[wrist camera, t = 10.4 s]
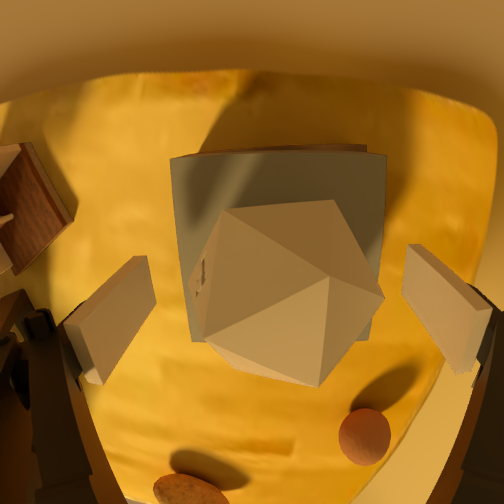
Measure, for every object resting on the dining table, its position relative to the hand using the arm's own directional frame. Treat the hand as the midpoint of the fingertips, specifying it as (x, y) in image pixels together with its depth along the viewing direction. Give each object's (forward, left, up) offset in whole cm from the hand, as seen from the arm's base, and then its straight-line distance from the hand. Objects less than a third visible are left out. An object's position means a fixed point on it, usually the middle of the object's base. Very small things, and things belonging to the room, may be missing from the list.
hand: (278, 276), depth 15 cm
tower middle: (0, 0, -8) cm, 8 cm away
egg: (+10, -26, -13) cm, 31 cm away
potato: (-15, -46, -13) cm, 50 cm away
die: (0, 0, -3) cm, 3 cm away
